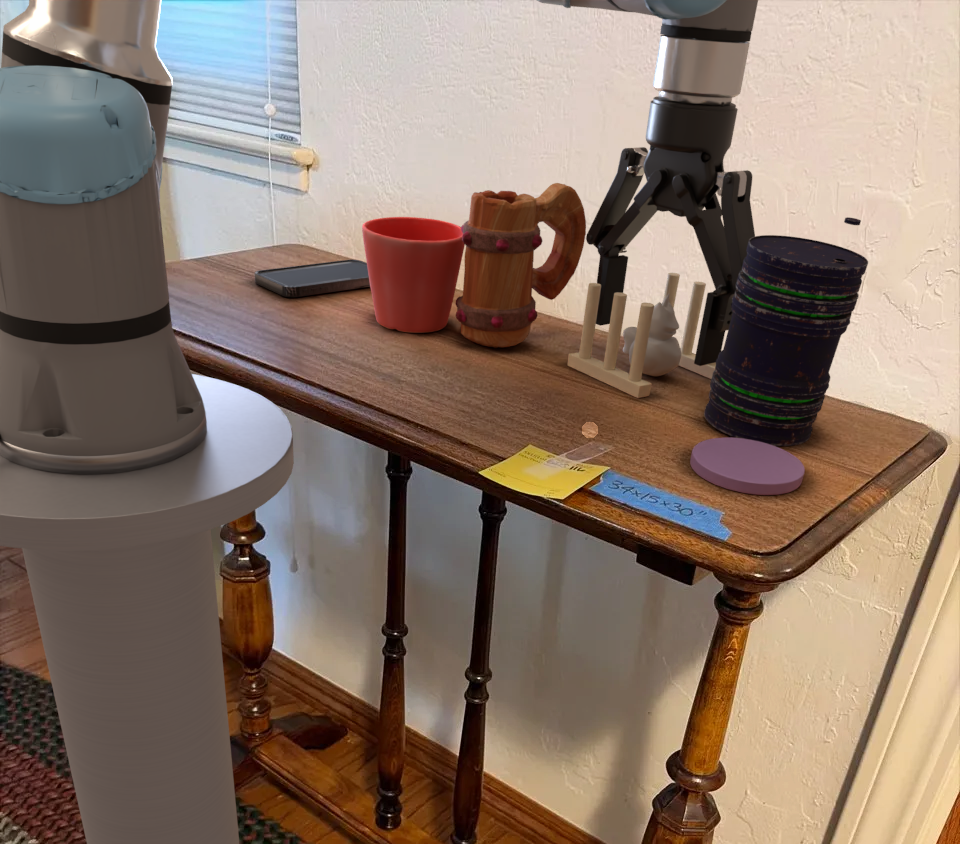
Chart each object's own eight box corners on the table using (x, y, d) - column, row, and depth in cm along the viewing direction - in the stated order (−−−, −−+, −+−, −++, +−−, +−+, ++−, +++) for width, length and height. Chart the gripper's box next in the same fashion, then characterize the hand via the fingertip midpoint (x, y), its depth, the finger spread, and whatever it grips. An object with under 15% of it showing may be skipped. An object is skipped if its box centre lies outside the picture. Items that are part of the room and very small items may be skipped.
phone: (250, 271, 111) (356, 258, 120) (251, 281, 112) (356, 267, 120) (288, 288, 106) (394, 273, 115) (288, 298, 107) (394, 283, 116)
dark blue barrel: (681, 416, 86) (734, 200, 75) (736, 393, 92) (792, 192, 82) (780, 456, 81) (851, 232, 70) (831, 430, 87) (903, 220, 77)
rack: (637, 398, 90) (653, 309, 85) (567, 365, 96) (578, 281, 91) (725, 378, 97) (744, 295, 92) (654, 349, 103) (668, 269, 98)
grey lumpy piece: (659, 387, 93) (675, 303, 88) (604, 368, 96) (616, 286, 92) (688, 375, 96) (705, 294, 92) (634, 358, 100) (647, 278, 95)
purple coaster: (753, 504, 73) (756, 493, 72) (667, 460, 78) (669, 449, 78) (824, 480, 77) (827, 469, 77) (738, 440, 83) (740, 429, 82)
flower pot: (381, 341, 98) (383, 240, 92) (348, 310, 106) (348, 215, 100) (476, 335, 102) (483, 239, 96) (437, 306, 110) (442, 215, 104)
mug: (475, 358, 96) (487, 195, 87) (434, 333, 101) (442, 178, 93) (590, 343, 103) (612, 191, 94) (546, 321, 108) (564, 176, 100)
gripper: (843, 116, 77) (779, 374, 89) (624, 80, 93) (596, 304, 105) (784, 118, 73) (726, 388, 85) (567, 80, 89) (544, 312, 101)
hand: (654, 342), depth 95 cm, fingers open, 13 cm apart
